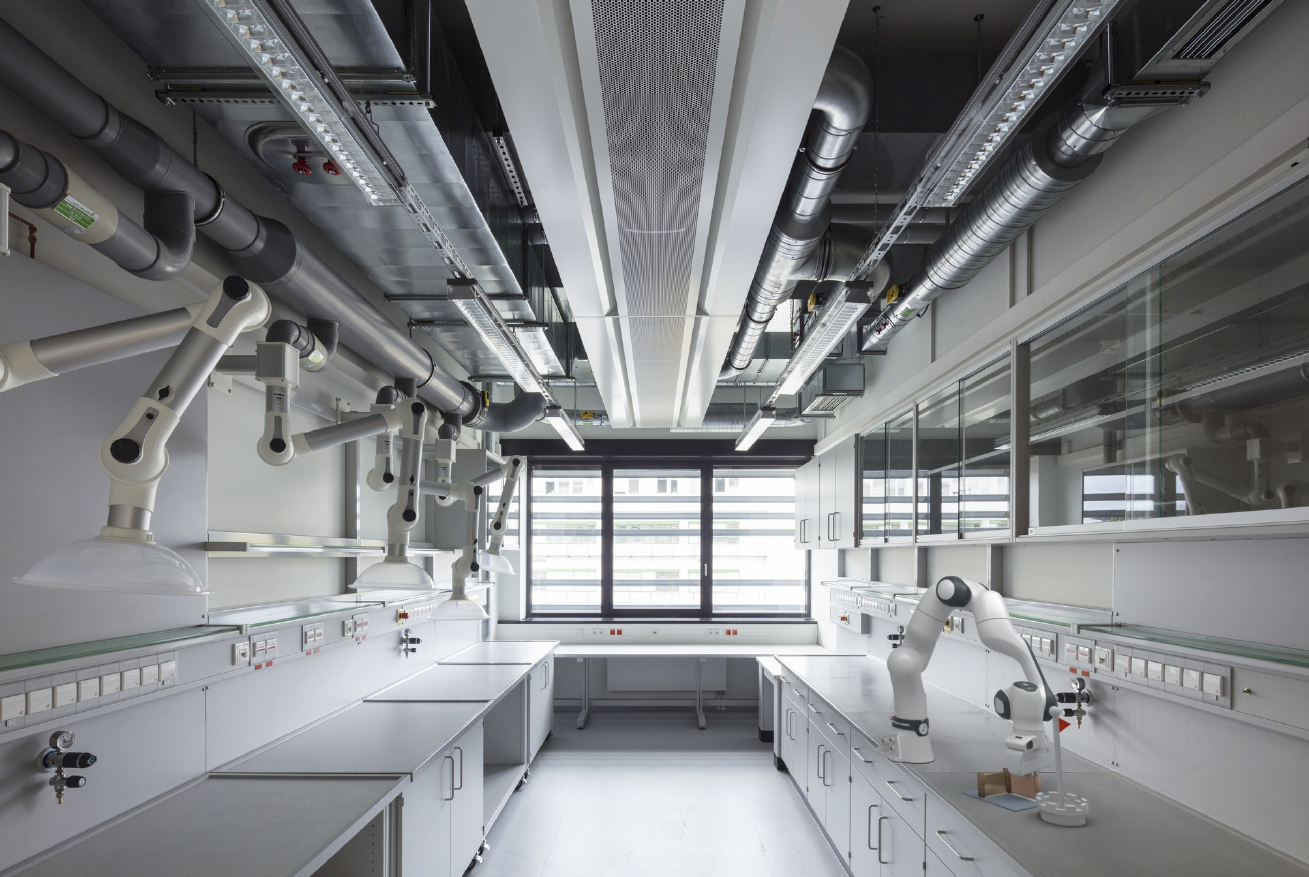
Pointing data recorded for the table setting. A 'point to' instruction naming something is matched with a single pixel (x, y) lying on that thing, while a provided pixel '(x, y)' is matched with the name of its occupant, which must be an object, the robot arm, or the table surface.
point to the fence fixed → (993, 783)
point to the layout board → (1009, 800)
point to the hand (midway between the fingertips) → (1032, 785)
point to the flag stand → (1061, 788)
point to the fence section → (1026, 785)
